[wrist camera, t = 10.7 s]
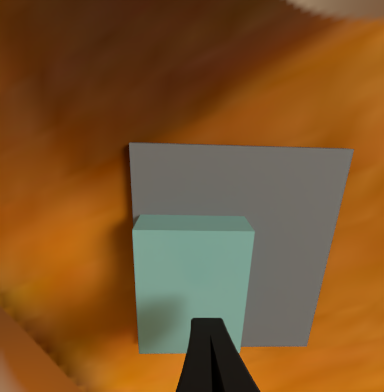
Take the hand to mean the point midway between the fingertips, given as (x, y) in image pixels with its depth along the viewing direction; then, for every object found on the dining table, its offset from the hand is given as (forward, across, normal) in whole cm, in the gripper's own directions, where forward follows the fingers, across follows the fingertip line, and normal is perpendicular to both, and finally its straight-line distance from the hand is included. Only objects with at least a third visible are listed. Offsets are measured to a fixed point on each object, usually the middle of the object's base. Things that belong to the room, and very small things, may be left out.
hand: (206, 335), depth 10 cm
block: (+3, -2, 0) cm, 4 cm away
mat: (+5, -2, -1) cm, 5 cm away
